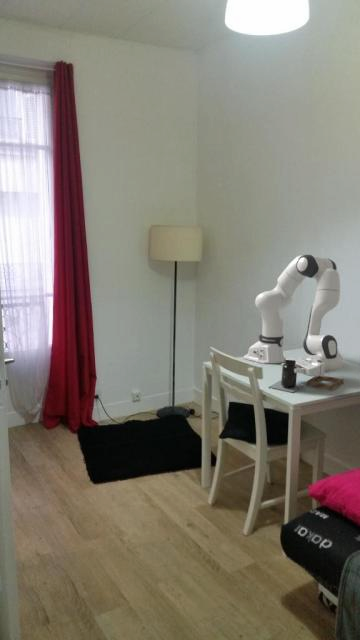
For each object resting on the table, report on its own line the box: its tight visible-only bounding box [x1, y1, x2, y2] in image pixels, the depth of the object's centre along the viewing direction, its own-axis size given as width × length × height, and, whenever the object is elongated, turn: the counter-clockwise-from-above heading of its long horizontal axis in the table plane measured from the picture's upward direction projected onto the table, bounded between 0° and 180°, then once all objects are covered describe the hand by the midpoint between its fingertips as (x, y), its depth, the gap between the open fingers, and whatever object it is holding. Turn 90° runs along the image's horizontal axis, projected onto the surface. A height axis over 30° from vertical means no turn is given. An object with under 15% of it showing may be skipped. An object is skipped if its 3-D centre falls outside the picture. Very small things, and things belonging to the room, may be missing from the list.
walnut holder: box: [306, 375, 345, 391], centre depth 253 cm, size 13×13×2 cm
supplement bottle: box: [281, 360, 298, 387], centre depth 247 cm, size 7×7×12 cm
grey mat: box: [268, 379, 305, 394], centre depth 249 cm, size 12×12×1 cm
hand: (288, 368), depth 247 cm, fingers open, 8 cm apart
